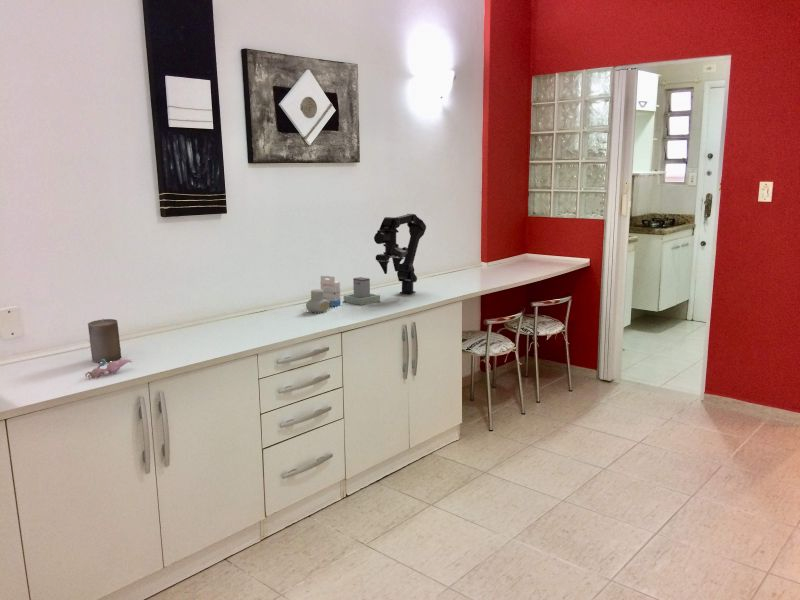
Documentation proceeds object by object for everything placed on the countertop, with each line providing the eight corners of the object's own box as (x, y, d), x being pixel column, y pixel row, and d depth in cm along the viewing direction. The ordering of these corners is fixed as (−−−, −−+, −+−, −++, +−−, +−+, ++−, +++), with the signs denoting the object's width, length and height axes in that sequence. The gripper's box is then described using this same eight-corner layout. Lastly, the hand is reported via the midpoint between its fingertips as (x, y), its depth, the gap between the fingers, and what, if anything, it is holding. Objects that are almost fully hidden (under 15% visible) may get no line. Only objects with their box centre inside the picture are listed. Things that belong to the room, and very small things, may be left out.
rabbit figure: (92, 384, 214) (136, 367, 224) (87, 368, 212) (132, 351, 222) (85, 380, 218) (129, 363, 228) (80, 364, 216) (124, 347, 226)
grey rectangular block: (361, 298, 337) (360, 277, 335) (370, 300, 332) (369, 278, 330) (352, 300, 333) (351, 278, 330) (360, 302, 328) (360, 280, 326)
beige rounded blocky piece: (317, 314, 304) (316, 293, 302) (303, 312, 309) (302, 291, 307) (332, 310, 313) (331, 289, 311) (318, 308, 318) (317, 287, 316)
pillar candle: (124, 354, 242) (120, 314, 239) (117, 362, 233) (113, 320, 230) (96, 356, 241) (91, 316, 238) (88, 364, 232) (83, 322, 229)
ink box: (341, 305, 325) (340, 275, 322) (335, 307, 320) (334, 276, 317) (326, 303, 329) (325, 274, 326) (320, 305, 324) (319, 275, 321)
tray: (362, 297, 342) (362, 291, 341) (380, 301, 333) (380, 295, 332) (343, 301, 333) (343, 295, 332) (360, 305, 324) (360, 299, 323)
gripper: (392, 245, 324) (393, 276, 327) (414, 241, 339) (414, 271, 342) (374, 243, 330) (375, 274, 333) (396, 240, 345) (396, 269, 348)
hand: (391, 272), depth 339 cm, fingers open, 9 cm apart
